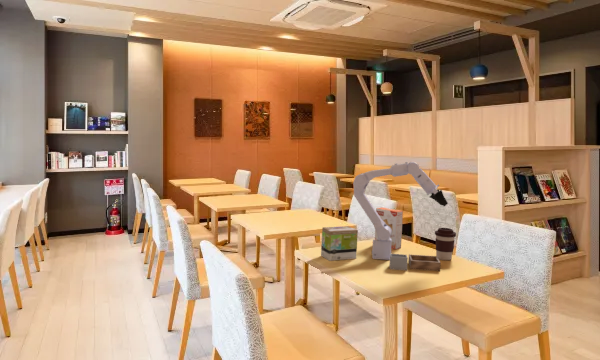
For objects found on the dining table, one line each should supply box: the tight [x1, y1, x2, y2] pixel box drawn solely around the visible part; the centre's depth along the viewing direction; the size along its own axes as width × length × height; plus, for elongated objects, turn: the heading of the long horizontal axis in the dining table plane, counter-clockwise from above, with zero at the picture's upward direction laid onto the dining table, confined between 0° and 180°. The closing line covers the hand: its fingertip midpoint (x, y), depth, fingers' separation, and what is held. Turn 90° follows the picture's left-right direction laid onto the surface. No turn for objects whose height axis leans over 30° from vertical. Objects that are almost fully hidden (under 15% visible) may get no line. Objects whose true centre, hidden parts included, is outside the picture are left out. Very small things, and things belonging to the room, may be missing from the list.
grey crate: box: [389, 253, 409, 271], centre depth 190 cm, size 8×5×6 cm, turn 81°
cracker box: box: [374, 207, 404, 250], centre depth 228 cm, size 14×6×21 cm, turn 43°
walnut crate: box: [407, 253, 441, 272], centre depth 193 cm, size 13×10×4 cm
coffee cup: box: [434, 227, 457, 261], centre depth 207 cm, size 10×10×15 cm
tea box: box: [320, 225, 359, 262], centre depth 205 cm, size 15×10×15 cm, turn 114°
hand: (444, 204), depth 196 cm, fingers open, 7 cm apart
